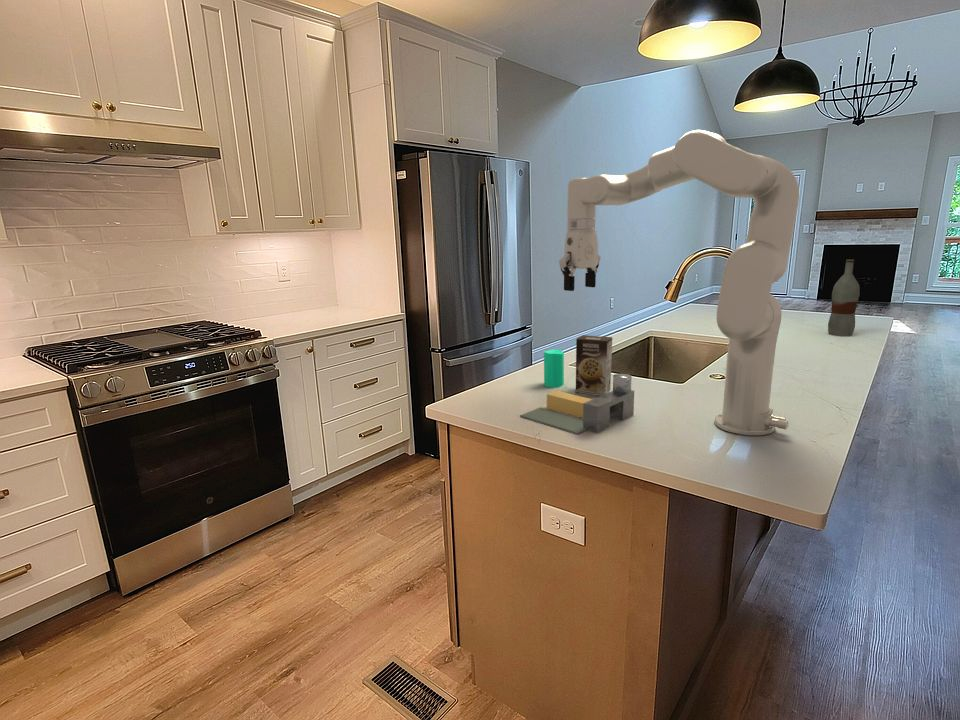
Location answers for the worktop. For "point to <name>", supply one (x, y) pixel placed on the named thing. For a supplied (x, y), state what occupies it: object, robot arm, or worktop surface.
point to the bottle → (844, 303)
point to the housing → (610, 405)
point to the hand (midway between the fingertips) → (579, 288)
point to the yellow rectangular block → (566, 403)
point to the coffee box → (593, 364)
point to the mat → (556, 420)
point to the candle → (553, 368)
